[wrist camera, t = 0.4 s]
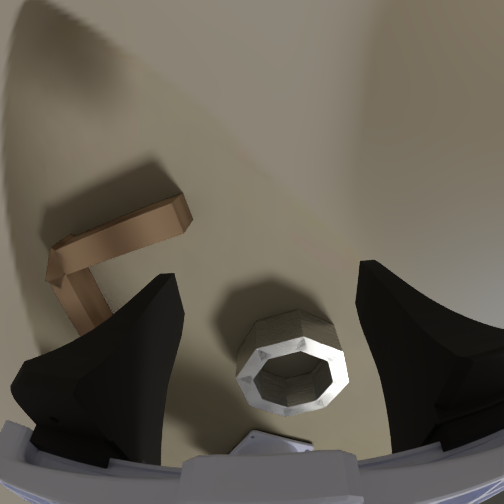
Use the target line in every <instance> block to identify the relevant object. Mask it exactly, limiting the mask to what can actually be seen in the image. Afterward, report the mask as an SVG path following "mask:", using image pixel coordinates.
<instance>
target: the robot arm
mask: <svg viewBox="0 0 504 504" xmlns="http://www.w3.org/2000/svg"><path fill="white" fill-rule="evenodd" d="M355 304H356V308H357V313H358V317H359V321H360V324H361V327H362V330H363V332H364V335H365V337H366V340H367V343H368V345H369V348H370V350H371V353H372V356H373V358H374V361H375V364H376V366H377V369H378V373H379V376H380V380H381V384H382V389H383V393H384V398H385V403H386V409H387V414H388V421H389V428H390V436H391V445H392V454H390V455H385V456H381V457H376V458H371V459H365V460H360V461H357V458H356V455H354V454H352V453H348V452H345V451H342V450H315V451H311V450H313V449H314V445H313V444H309V443H305V442H300V441H296V440H292V439H288V438H284V437H280V436H276V435H272V434H268V433H265V432H261V431H258V430H252V431H251V432H250V433H249V434H248V435H247V436H246V437H245V438H244V439H243V440H242V441H241V442H240V443H239V444H238V445H237V446H236V447H235V448H234V449H233V450H232V451H231V452H230V453H229V454H214V455H199V456H196V457H194V458H191V459H189V460H187V461H185V462H183V465H182V468H176V467H166V466H161V442H162V427H163V417H164V408H165V401H166V394H167V387H168V383H169V378H170V375H171V371H172V368H173V364H174V361H175V357H176V354H177V350H178V347H179V343H180V339H181V336H182V330H183V323H184V315H185V313H184V309H183V306H182V302H181V298H180V294H179V290H178V286H177V282H176V278H175V274H174V273H167V274H159V275H158V276H156V277H155V278H154V279H153V280H152V281H151V282H150V283H149V284H147V285H146V286H145V287H144V288H143V289H142V290H141V291H140V292H139V293H138V294H137V295H135V296H134V297H133V298H132V299H131V300H130V301H129V302H128V303H126V304H125V305H124V306H123V307H122V308H121V309H119V310H118V311H117V312H116V313H115V314H113V315H112V316H111V317H110V318H108V319H107V320H106V321H104V322H103V323H101V324H100V325H99V326H97V327H96V328H94V329H93V330H91V331H89V332H88V333H86V334H84V335H83V336H81V337H79V338H78V339H76V340H74V341H72V342H70V343H68V344H66V345H64V346H62V347H60V348H58V349H56V350H54V351H51V352H49V353H47V354H44V355H41V356H38V357H36V358H33V359H30V360H27V361H25V362H24V363H23V365H22V367H21V368H20V370H19V372H18V374H17V376H16V377H15V379H14V381H13V382H12V384H11V386H10V387H11V393H12V395H13V397H14V399H15V400H16V402H17V403H18V405H19V406H20V407H21V408H22V409H23V410H24V412H25V413H26V414H27V415H28V416H29V417H30V418H31V419H32V420H33V421H34V423H36V427H35V429H34V431H32V430H31V429H30V428H28V427H25V426H23V425H20V424H17V423H14V422H12V421H9V420H7V421H6V422H5V424H4V426H3V428H2V430H1V432H0V483H1V484H2V485H3V486H5V487H6V488H8V489H9V490H11V491H12V492H14V493H15V494H17V495H18V496H20V497H21V498H23V499H24V500H26V501H28V502H31V503H33V504H479V503H480V502H483V501H485V500H487V499H488V498H490V497H492V496H494V495H496V494H498V493H500V492H501V491H503V490H504V329H500V328H496V327H493V326H489V325H487V324H483V323H481V322H478V321H475V320H472V319H470V318H467V317H465V316H463V315H460V314H458V313H456V312H454V311H452V310H450V309H448V308H445V307H444V306H442V305H440V304H439V303H436V302H435V301H433V300H431V299H430V298H428V297H426V296H425V295H424V294H422V293H420V292H419V291H417V290H416V289H414V288H413V287H411V286H410V285H409V284H407V283H406V282H405V281H403V280H402V279H400V278H399V277H398V276H396V275H395V274H394V273H392V272H391V271H390V270H388V269H387V268H386V267H384V266H383V265H382V264H380V263H379V262H377V261H376V260H366V261H360V266H359V276H358V285H357V293H356V301H355Z"/></svg>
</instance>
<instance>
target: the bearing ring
mask: <svg viewBox="0 0 504 504" xmlns="http://www.w3.org/2000/svg"><path fill="white" fill-rule="evenodd" d="M298 351H302V352H305V353H307V354H310V355H313V356H315V357H318V358H321V359H322V360H321V361H320V363H319V364H318V365H317V366H316V368H315V369H314V370H313V371H312V372H311V373H308V374H304V375H300V376H296V377H292V378H288V379H284V378H281V377H278V376H275V375H272V374H270V373H267V372H264V371H262V370H261V368H262V367H263V365H264V364H265V363H266V361H267V360H268V359H271V358H275V357H279V356H283V355H287V354H291V353H295V352H298ZM236 380H237V382H238V384H239V386H240V388H241V390H242V392H243V394H244V396H245V398H246V399H247V401H248V403H249V405H250V406H252V407H255V408H259V409H262V410H265V411H268V412H271V413H275V414H278V415H282V416H285V417H286V416H291V415H296V414H300V413H304V412H309V411H313V410H317V409H321V408H324V407H326V406H327V405H328V404H329V403H330V401H331V400H332V399H333V398H334V397H335V396H336V395H337V394H338V393H339V392H340V391H341V390H342V389H343V388H344V387H345V386H346V384H347V383H348V382H349V380H348V375H347V370H346V365H345V360H344V355H343V351H342V348H341V345H340V342H339V339H338V336H337V333H336V330H335V327H334V325H333V324H330V323H328V322H326V321H323V320H321V319H319V318H317V317H314V316H312V315H310V314H307V313H305V312H303V311H300V310H295V311H292V312H288V313H285V314H281V315H277V316H274V317H270V318H266V319H262V320H258V321H256V323H255V324H254V326H253V328H252V329H251V331H250V332H249V334H248V335H247V337H246V339H245V340H244V342H243V343H242V345H241V346H240V348H239V350H238V357H237V368H236Z"/></svg>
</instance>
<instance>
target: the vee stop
mask: <svg viewBox="0 0 504 504" xmlns="http://www.w3.org/2000/svg"><path fill="white" fill-rule="evenodd" d="M192 221H193V218H192V215H191V213H190V210H189V208H188V205H187V202H186V200H185V197H184V195H183V193H181V194H179V195H176V196H173V197H171V198H168V199H165V200H163V201H160V202H157V203H155V204H152V205H150V206H147V207H144V208H142V209H139V210H137V211H134V212H132V213H129V214H127V215H124V216H122V217H119V218H117V219H115V220H112V221H110V222H107V223H105V224H103V225H100V226H98V227H95V228H93V229H91V230H88V231H86V232H84V233H82V234H79V235H77V236H73V235H71V234H70V235H68V236H67V237H65V238H64V239H62V240H61V241H59V242H58V243H57V244H55V245H54V246H52V247H51V248H50V254H49V260H48V266H47V272H46V279H45V280H46V281H47V282H49V283H50V284H51V286H52V288H53V290H54V292H55V294H56V295H57V297H58V299H59V301H60V303H61V304H62V306H63V308H64V310H65V311H66V313H67V315H68V317H69V318H70V320H71V322H72V323H73V325H74V327H75V328H76V330H77V331H78V333H79V335H80V336H83V335H84V334H86V333H88V332H89V331H91V330H93V329H94V328H96V327H97V326H99V325H100V324H101V323H103V322H104V321H106V320H107V319H108V318H110V317H111V316H112V315H113V314H112V312H111V310H110V308H109V307H108V305H107V303H106V301H105V299H104V297H103V296H102V294H101V292H100V290H99V288H98V286H97V284H96V282H95V280H94V278H93V276H92V274H91V272H90V270H89V268H88V267H89V266H92V265H95V264H98V263H100V262H103V261H106V260H109V259H112V258H114V257H117V256H120V255H123V254H126V253H128V252H131V251H134V250H137V249H140V248H143V247H146V246H148V245H151V244H154V243H157V242H160V241H163V240H166V239H169V238H172V237H175V236H178V235H181V234H184V232H185V231H186V229H187V228H188V226H189V225H190V224H191V222H192Z"/></svg>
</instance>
